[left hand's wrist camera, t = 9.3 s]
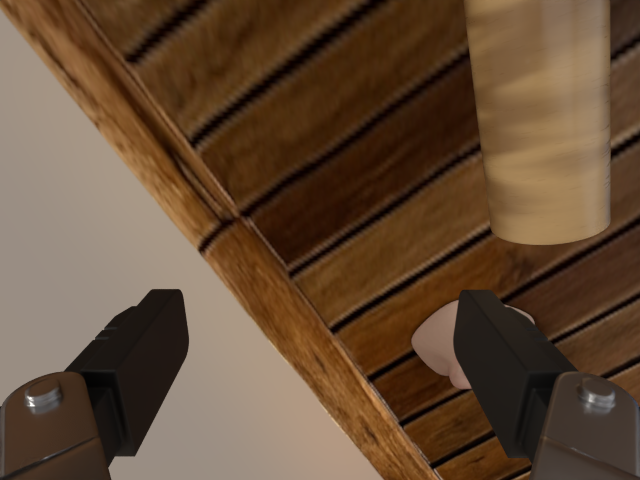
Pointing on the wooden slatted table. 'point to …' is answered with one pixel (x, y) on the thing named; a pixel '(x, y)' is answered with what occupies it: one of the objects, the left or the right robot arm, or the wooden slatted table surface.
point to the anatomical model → (443, 344)
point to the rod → (543, 115)
